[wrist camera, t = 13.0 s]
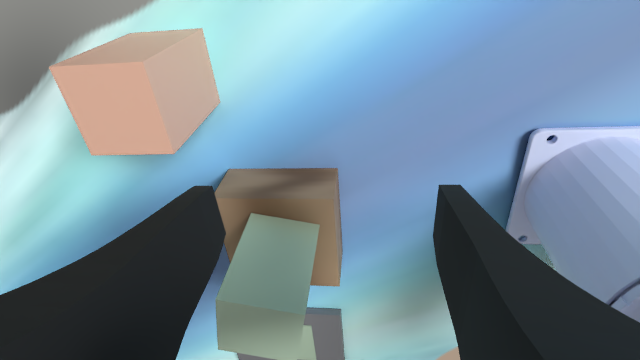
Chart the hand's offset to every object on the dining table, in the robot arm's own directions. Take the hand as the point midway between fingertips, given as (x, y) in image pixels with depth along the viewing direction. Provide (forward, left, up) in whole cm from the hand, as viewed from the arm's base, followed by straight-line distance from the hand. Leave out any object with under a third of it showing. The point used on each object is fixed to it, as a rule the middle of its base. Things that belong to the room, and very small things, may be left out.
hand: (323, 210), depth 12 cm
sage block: (+4, +8, -7) cm, 11 cm away
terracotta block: (+9, -2, -10) cm, 14 cm away
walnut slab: (+4, +8, -10) cm, 14 cm away
